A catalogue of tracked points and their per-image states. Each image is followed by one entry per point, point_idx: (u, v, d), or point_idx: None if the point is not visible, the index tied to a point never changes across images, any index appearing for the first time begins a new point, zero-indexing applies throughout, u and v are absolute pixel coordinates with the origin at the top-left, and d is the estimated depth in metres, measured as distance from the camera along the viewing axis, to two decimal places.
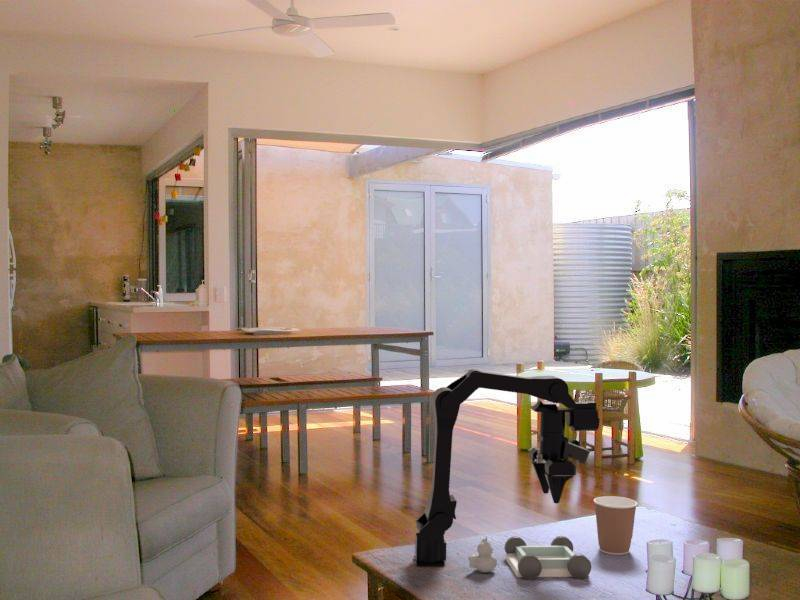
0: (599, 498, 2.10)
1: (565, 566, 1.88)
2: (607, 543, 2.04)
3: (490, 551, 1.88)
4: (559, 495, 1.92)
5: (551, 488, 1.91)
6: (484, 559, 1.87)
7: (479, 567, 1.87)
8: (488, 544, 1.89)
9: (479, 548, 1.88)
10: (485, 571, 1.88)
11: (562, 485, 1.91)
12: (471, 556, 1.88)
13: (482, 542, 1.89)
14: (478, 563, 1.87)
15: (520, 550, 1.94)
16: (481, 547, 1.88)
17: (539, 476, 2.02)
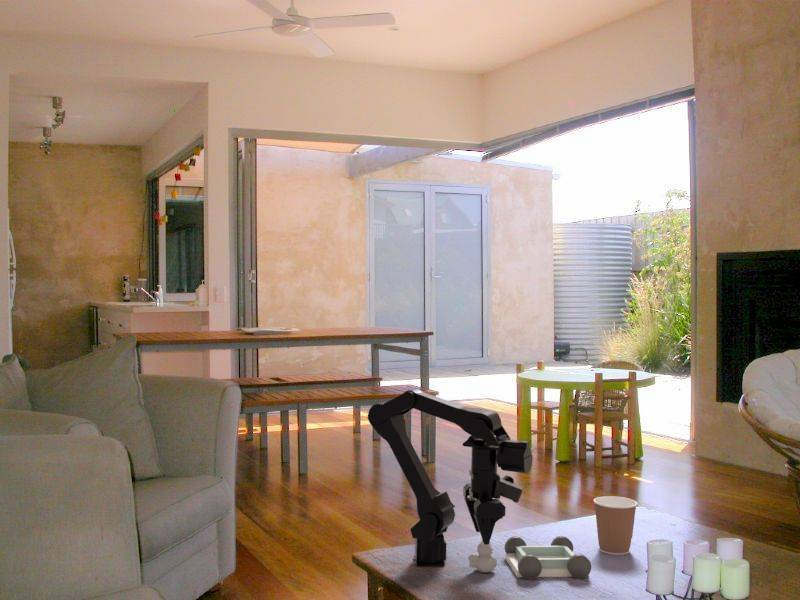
0: (599, 498, 2.10)
1: (565, 566, 1.88)
2: (607, 543, 2.04)
3: (490, 551, 1.88)
4: (489, 536, 1.84)
5: (480, 529, 1.83)
6: (484, 559, 1.87)
7: (479, 567, 1.87)
8: (488, 544, 1.89)
9: (479, 548, 1.88)
10: (485, 571, 1.88)
11: (492, 526, 1.83)
12: (471, 556, 1.88)
13: (482, 542, 1.89)
14: (478, 563, 1.87)
15: (520, 550, 1.94)
16: (481, 547, 1.88)
17: (472, 514, 1.94)
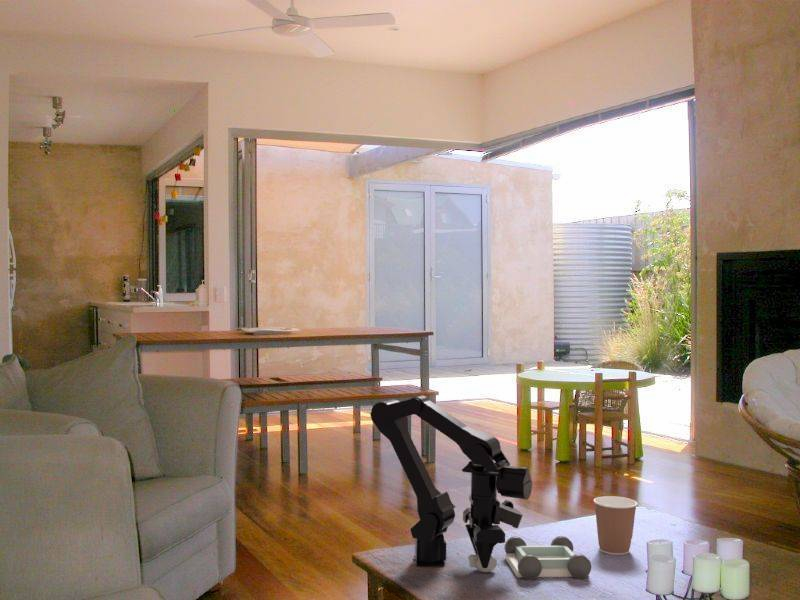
0: (599, 498, 2.10)
1: (565, 566, 1.88)
2: (607, 543, 2.04)
3: None
4: (487, 560, 1.86)
5: (479, 553, 1.85)
6: None
7: (479, 567, 1.87)
8: None
9: None
10: (485, 571, 1.88)
11: (490, 550, 1.85)
12: (471, 556, 1.88)
13: None
14: (478, 562, 1.87)
15: (520, 550, 1.94)
16: None
17: (473, 541, 1.92)
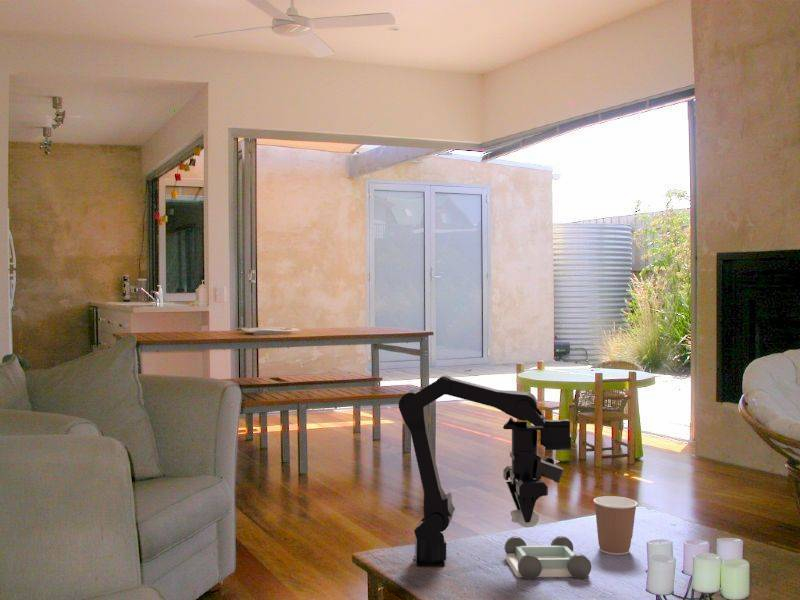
0: (599, 498, 2.10)
1: (565, 566, 1.88)
2: (607, 543, 2.04)
3: None
4: (530, 514, 1.87)
5: (521, 507, 1.87)
6: None
7: (521, 522, 1.89)
8: None
9: None
10: (527, 526, 1.89)
11: (533, 504, 1.87)
12: (513, 511, 1.90)
13: None
14: (521, 517, 1.89)
15: (520, 550, 1.94)
16: None
17: (514, 497, 1.94)
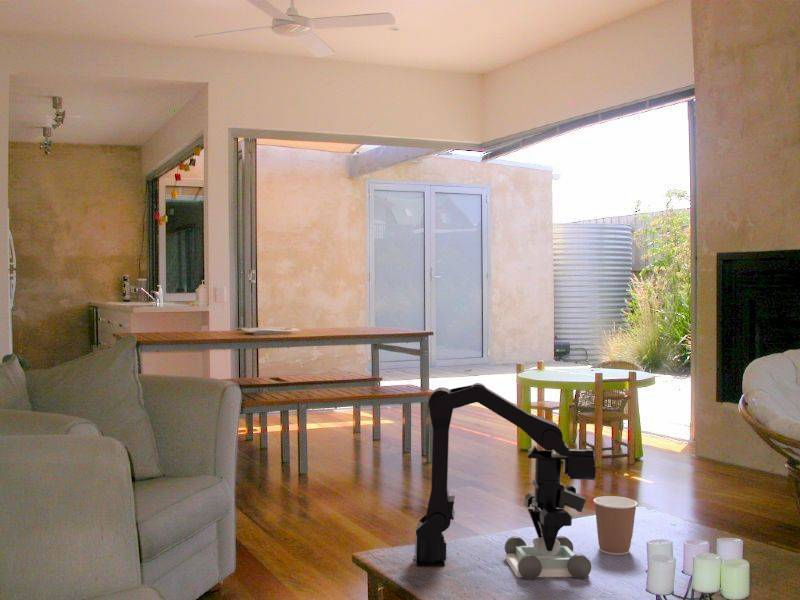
0: (599, 498, 2.10)
1: (565, 566, 1.88)
2: (607, 543, 2.04)
3: None
4: (552, 543, 1.89)
5: (544, 536, 1.88)
6: None
7: (543, 550, 1.91)
8: None
9: None
10: (549, 554, 1.91)
11: (555, 533, 1.88)
12: (535, 539, 1.91)
13: None
14: (543, 546, 1.91)
15: (520, 550, 1.94)
16: None
17: (536, 525, 1.95)
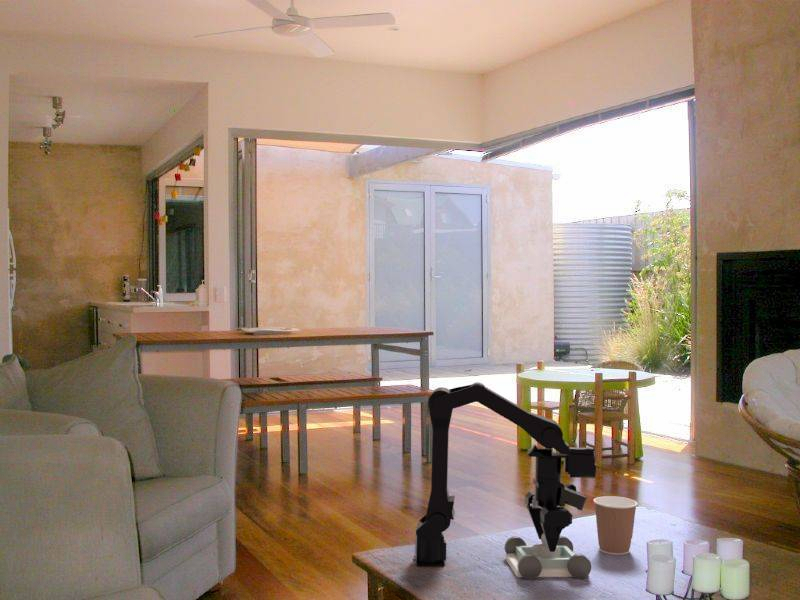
0: (599, 498, 2.10)
1: (565, 566, 1.88)
2: (607, 543, 2.04)
3: None
4: (555, 543, 1.87)
5: (547, 536, 1.86)
6: (548, 549, 1.90)
7: (543, 556, 1.91)
8: None
9: (543, 538, 1.92)
10: None
11: (558, 533, 1.87)
12: (535, 545, 1.91)
13: None
14: (543, 552, 1.91)
15: (520, 550, 1.94)
16: None
17: (535, 521, 1.97)
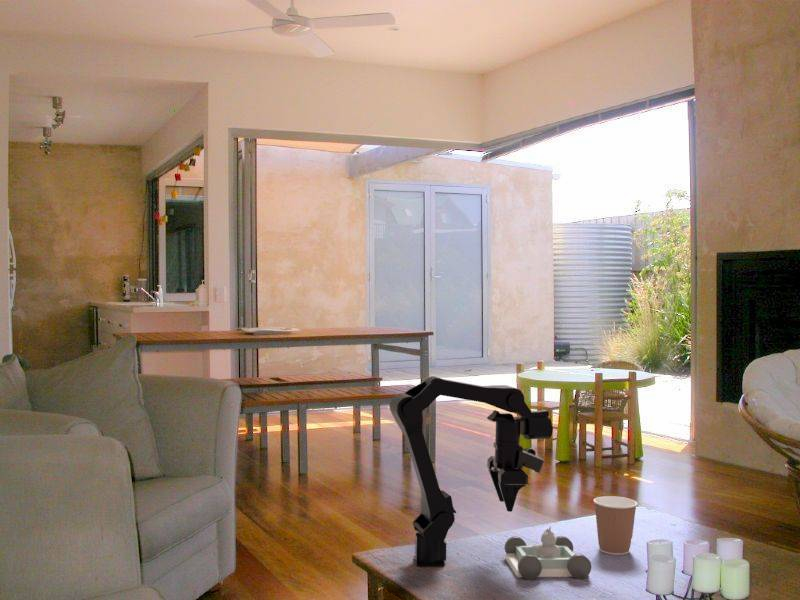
0: (599, 498, 2.10)
1: (565, 566, 1.88)
2: (607, 543, 2.04)
3: (554, 541, 1.92)
4: (512, 503, 1.95)
5: (504, 496, 1.94)
6: (548, 549, 1.90)
7: (543, 556, 1.91)
8: (552, 534, 1.92)
9: (543, 538, 1.92)
10: None
11: (515, 494, 1.94)
12: (535, 546, 1.91)
13: (546, 532, 1.93)
14: (542, 552, 1.91)
15: (520, 550, 1.94)
16: (545, 537, 1.91)
17: (495, 484, 2.05)
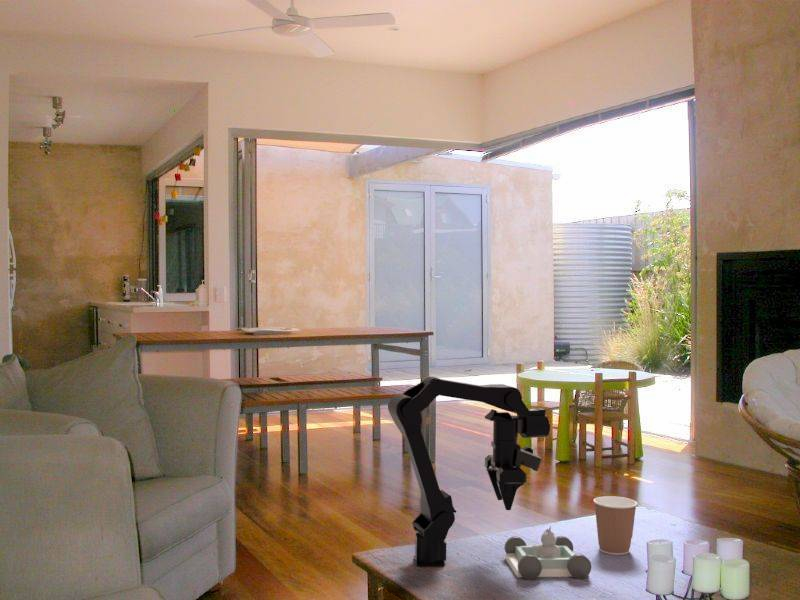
0: (599, 498, 2.10)
1: (565, 566, 1.88)
2: (607, 543, 2.04)
3: (554, 541, 1.92)
4: (511, 502, 1.95)
5: (503, 495, 1.95)
6: (548, 549, 1.90)
7: (543, 556, 1.91)
8: (552, 534, 1.92)
9: (543, 538, 1.92)
10: None
11: (513, 492, 1.95)
12: (535, 546, 1.91)
13: (546, 532, 1.93)
14: (542, 552, 1.91)
15: (520, 550, 1.94)
16: (545, 537, 1.91)
17: (493, 483, 2.05)
